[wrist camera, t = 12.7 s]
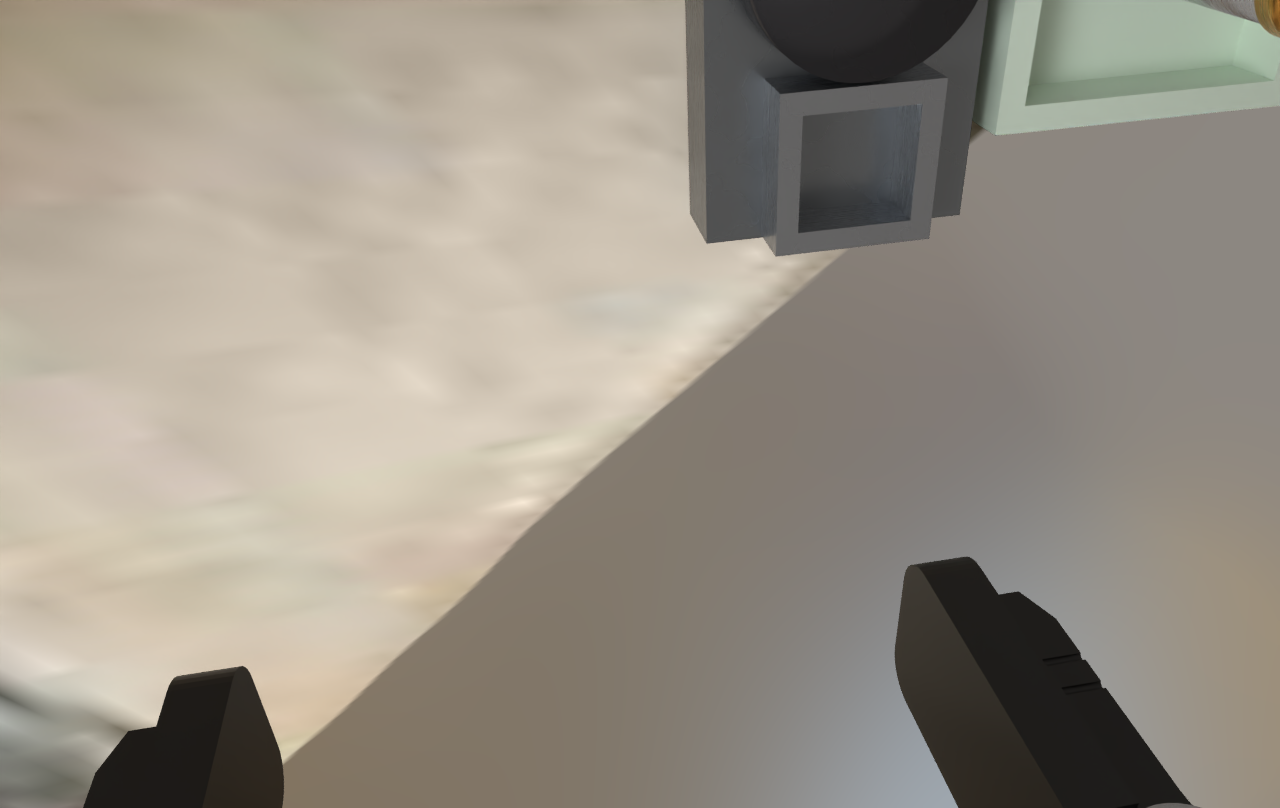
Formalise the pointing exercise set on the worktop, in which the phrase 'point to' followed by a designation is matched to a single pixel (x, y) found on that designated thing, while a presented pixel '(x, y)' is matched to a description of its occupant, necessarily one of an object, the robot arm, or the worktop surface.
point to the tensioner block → (829, 118)
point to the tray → (1118, 63)
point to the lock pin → (1249, 11)
